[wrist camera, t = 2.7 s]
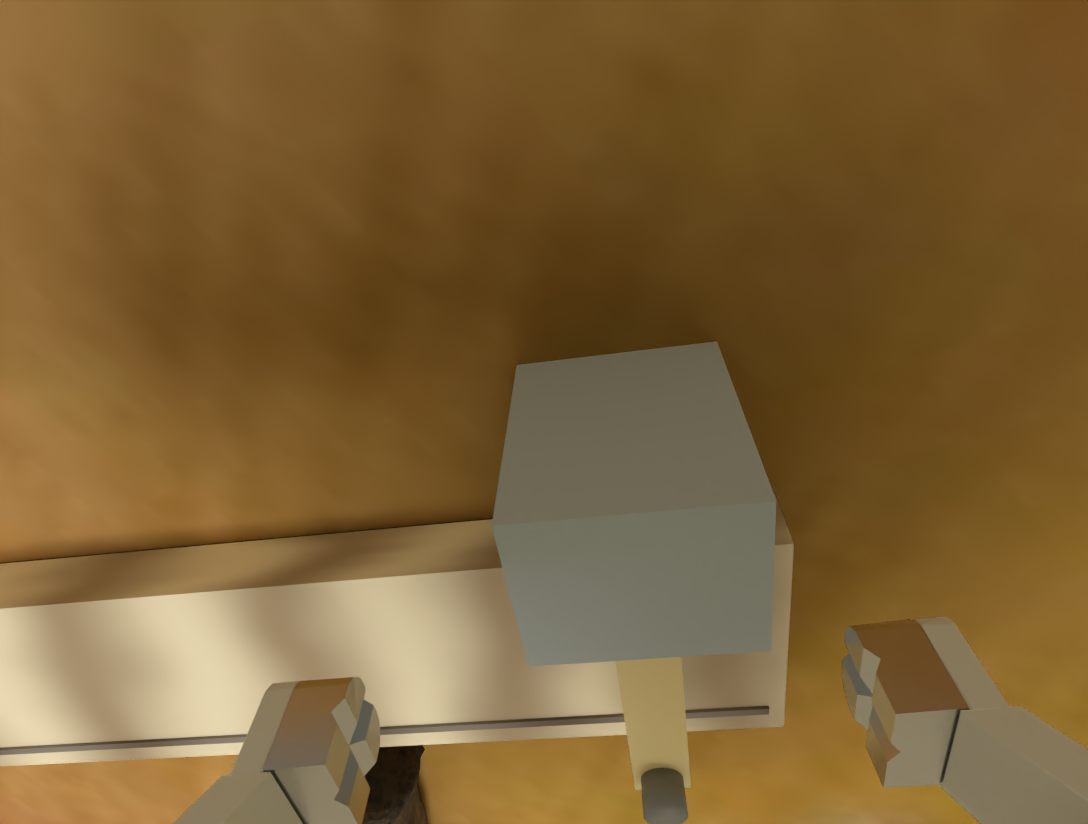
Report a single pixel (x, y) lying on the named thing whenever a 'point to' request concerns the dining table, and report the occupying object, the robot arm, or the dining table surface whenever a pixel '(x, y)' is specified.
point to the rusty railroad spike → (395, 787)
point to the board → (317, 647)
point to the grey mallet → (637, 534)
